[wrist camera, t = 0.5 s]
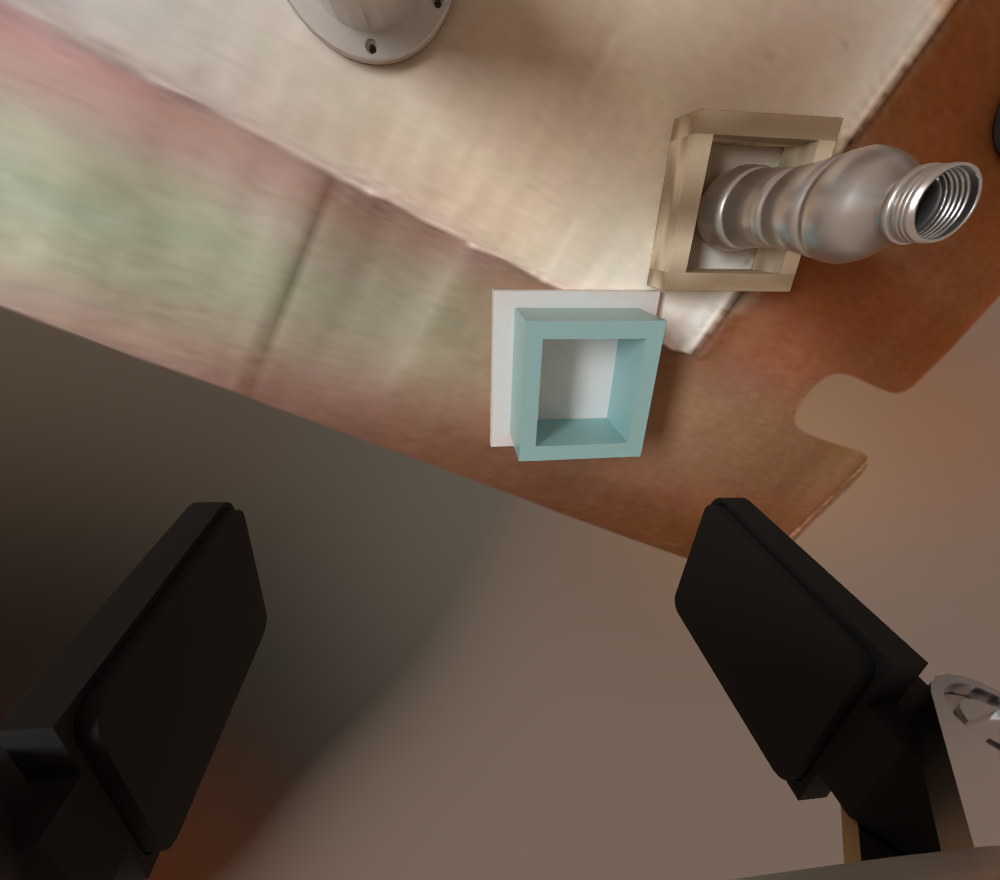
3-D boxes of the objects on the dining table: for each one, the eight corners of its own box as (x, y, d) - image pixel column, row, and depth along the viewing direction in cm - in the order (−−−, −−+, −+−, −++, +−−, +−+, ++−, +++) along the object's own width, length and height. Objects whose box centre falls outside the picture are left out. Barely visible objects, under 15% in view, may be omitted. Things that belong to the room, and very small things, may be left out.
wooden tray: (674, 119, 36) (699, 109, 33) (805, 127, 38) (843, 117, 34) (646, 284, 42) (666, 290, 39) (761, 285, 44) (789, 291, 40)
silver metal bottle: (771, 193, 40) (1038, 172, 22) (722, 263, 42) (928, 295, 24) (721, 151, 38) (970, 91, 20) (672, 227, 40) (858, 234, 22)
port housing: (492, 288, 40) (501, 301, 34) (655, 290, 42) (693, 302, 36) (490, 442, 48) (497, 475, 41) (629, 437, 50) (657, 468, 43)
